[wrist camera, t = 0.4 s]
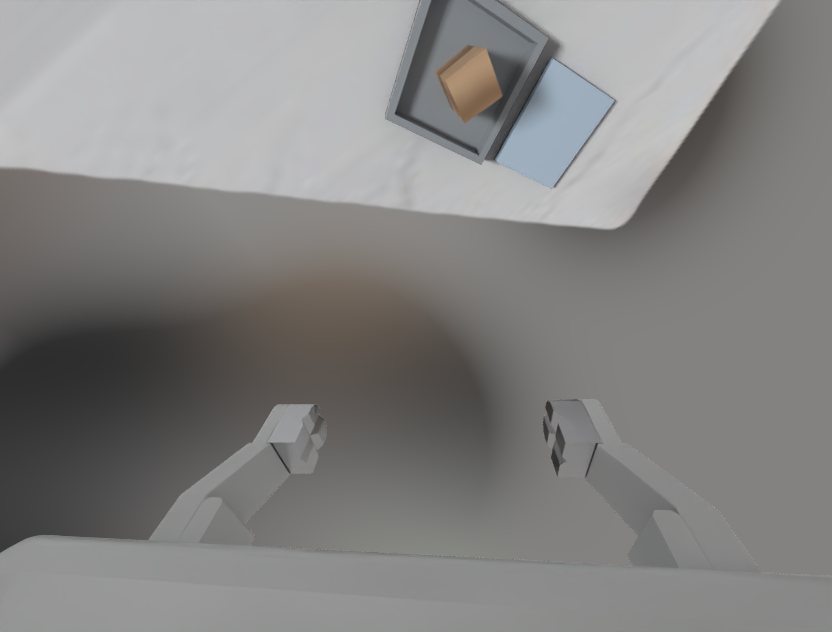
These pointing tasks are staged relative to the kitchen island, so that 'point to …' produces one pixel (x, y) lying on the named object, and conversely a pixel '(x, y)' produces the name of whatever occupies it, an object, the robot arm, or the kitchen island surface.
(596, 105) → the light blue flat slab
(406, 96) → the parts bin
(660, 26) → the kitchen island surface
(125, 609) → the robot arm
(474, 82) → the walnut block
